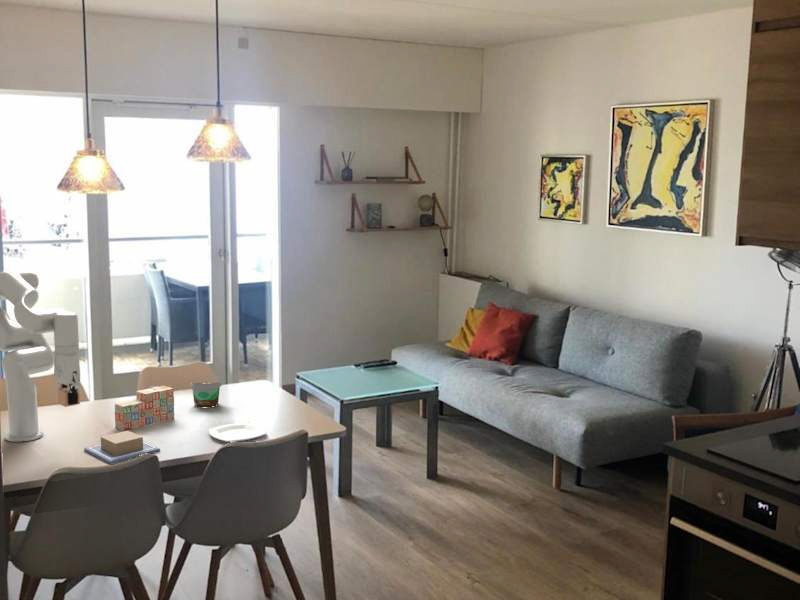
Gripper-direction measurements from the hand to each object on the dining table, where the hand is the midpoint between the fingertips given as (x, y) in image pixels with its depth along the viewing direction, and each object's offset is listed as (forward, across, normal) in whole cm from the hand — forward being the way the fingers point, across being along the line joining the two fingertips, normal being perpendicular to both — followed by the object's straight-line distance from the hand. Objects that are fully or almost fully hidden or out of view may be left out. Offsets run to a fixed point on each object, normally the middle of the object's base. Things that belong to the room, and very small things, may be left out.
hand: (69, 401), depth 283 cm
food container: (+17, -14, +63) cm, 67 cm away
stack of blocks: (+18, -11, +34) cm, 40 cm away
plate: (+18, +25, +50) cm, 59 cm away
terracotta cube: (+1, 0, 0) cm, 1 cm away
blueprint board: (+17, +12, +12) cm, 24 cm away
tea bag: (+18, -22, +46) cm, 54 cm away
